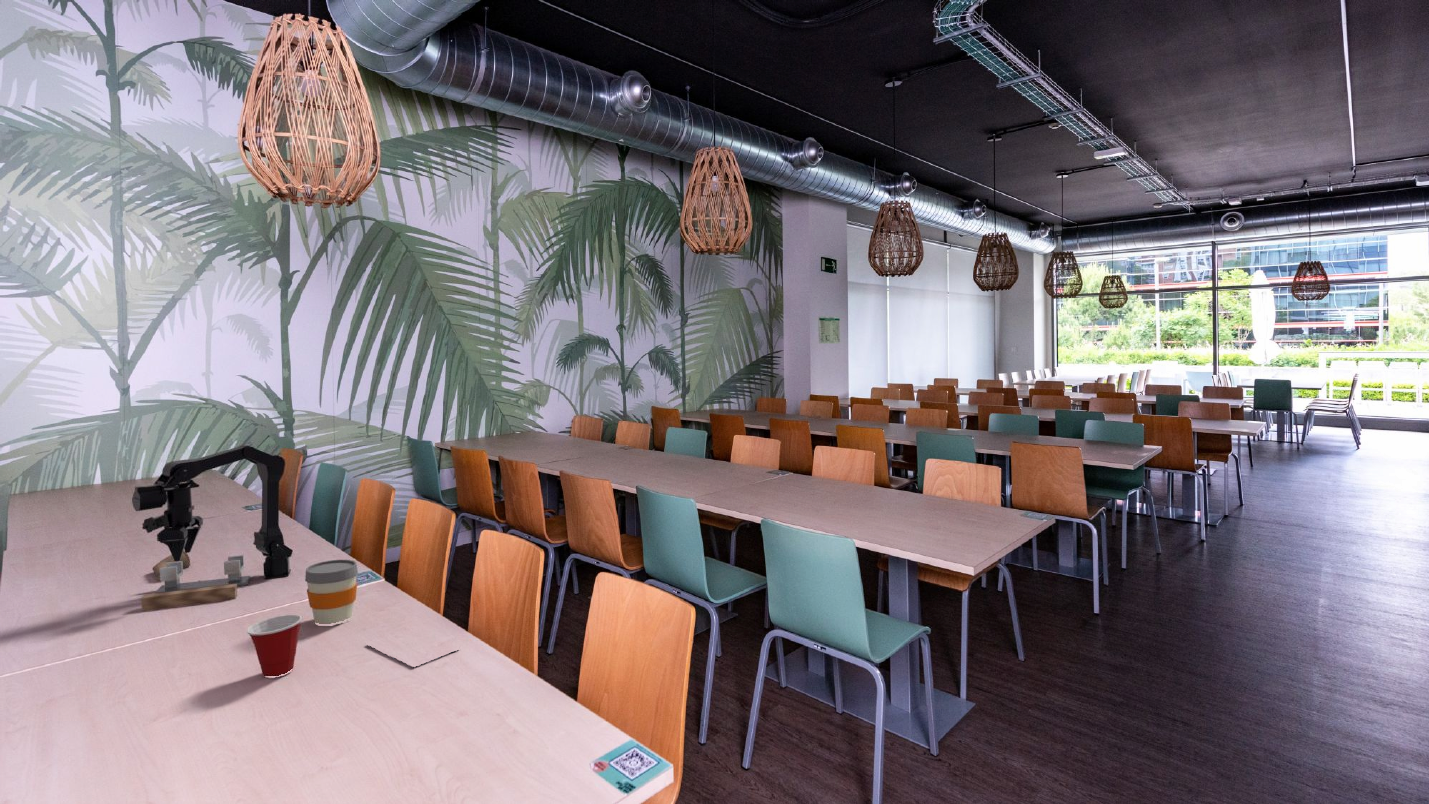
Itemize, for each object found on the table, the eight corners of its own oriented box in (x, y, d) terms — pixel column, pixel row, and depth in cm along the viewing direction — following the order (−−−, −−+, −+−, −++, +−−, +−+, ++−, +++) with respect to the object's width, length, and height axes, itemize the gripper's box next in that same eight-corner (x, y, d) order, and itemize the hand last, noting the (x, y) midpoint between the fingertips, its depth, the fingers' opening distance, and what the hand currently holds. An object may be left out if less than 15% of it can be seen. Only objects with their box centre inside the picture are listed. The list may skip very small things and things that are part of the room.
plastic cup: (265, 663, 164) (262, 613, 163) (313, 661, 165) (311, 612, 164) (237, 685, 153) (235, 632, 152) (289, 683, 154) (287, 630, 153)
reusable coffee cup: (370, 614, 194) (368, 561, 193) (332, 632, 182) (329, 575, 181) (335, 609, 198) (333, 557, 197) (295, 625, 186) (293, 570, 185)
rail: (237, 596, 209) (236, 583, 208) (235, 600, 206) (234, 586, 206) (145, 608, 199) (144, 594, 199) (141, 612, 197) (141, 598, 196)
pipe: (151, 569, 219) (190, 558, 225) (149, 557, 231) (186, 546, 238) (156, 588, 220) (195, 576, 226) (154, 575, 233) (191, 564, 239)
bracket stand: (250, 578, 224) (249, 554, 223) (246, 585, 218) (244, 560, 217) (162, 588, 215) (160, 563, 214) (154, 595, 208) (153, 569, 208)
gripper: (157, 500, 209) (160, 551, 211) (132, 514, 192) (136, 569, 193) (202, 497, 214) (204, 547, 215) (181, 510, 196) (184, 564, 198)
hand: (182, 556), depth 205 cm, fingers open, 9 cm apart
